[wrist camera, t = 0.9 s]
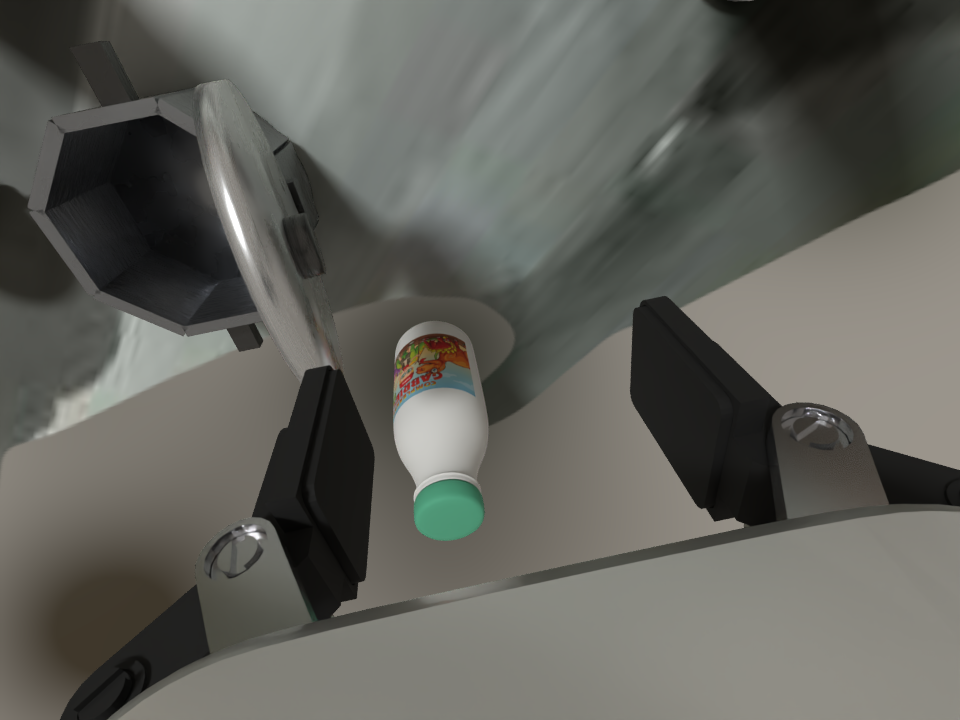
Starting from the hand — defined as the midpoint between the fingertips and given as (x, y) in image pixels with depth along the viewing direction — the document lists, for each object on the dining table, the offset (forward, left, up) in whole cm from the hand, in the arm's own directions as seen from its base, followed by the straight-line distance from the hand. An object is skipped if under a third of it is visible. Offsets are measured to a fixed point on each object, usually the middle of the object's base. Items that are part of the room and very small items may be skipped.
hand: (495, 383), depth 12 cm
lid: (+9, 0, -14) cm, 16 cm away
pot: (+17, 0, -30) cm, 34 cm away
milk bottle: (+4, +18, -30) cm, 35 cm away
